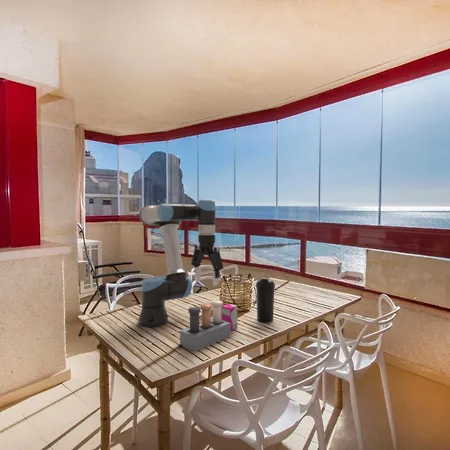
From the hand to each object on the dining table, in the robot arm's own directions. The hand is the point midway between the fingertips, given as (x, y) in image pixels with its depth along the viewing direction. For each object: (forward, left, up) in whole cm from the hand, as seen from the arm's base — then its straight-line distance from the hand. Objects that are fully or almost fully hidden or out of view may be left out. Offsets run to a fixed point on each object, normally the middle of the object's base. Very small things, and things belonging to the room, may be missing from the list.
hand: (206, 283), depth 132 cm
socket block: (0, 0, -26) cm, 26 cm away
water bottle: (+5, +39, -26) cm, 47 cm away
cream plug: (0, +7, -19) cm, 21 cm away
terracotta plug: (0, 0, -19) cm, 19 cm away
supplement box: (-1, +17, -26) cm, 31 cm away
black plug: (0, -7, -19) cm, 21 cm away
